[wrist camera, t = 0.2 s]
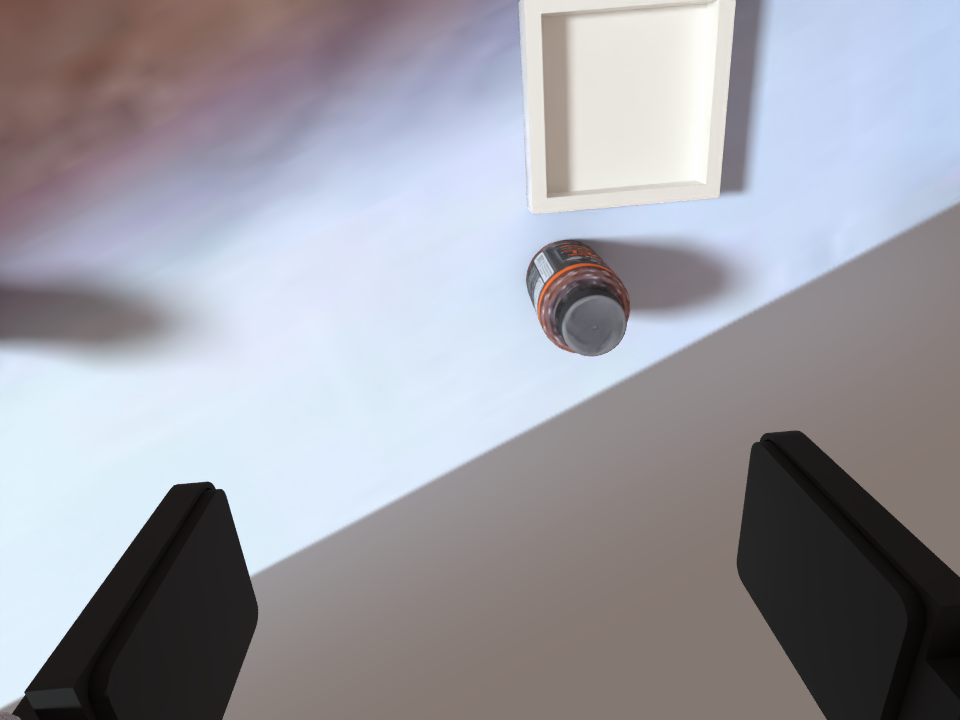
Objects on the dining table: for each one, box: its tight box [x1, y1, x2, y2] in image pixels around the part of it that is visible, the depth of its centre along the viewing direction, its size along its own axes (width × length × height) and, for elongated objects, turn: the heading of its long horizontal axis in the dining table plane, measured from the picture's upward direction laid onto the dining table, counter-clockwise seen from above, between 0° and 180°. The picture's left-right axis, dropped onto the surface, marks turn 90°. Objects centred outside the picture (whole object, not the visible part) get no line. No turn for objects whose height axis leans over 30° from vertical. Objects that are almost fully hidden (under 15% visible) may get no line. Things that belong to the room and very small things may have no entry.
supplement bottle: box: [526, 240, 630, 356], centre depth 41 cm, size 6×6×11 cm
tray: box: [518, 0, 736, 214], centre depth 40 cm, size 13×13×3 cm
